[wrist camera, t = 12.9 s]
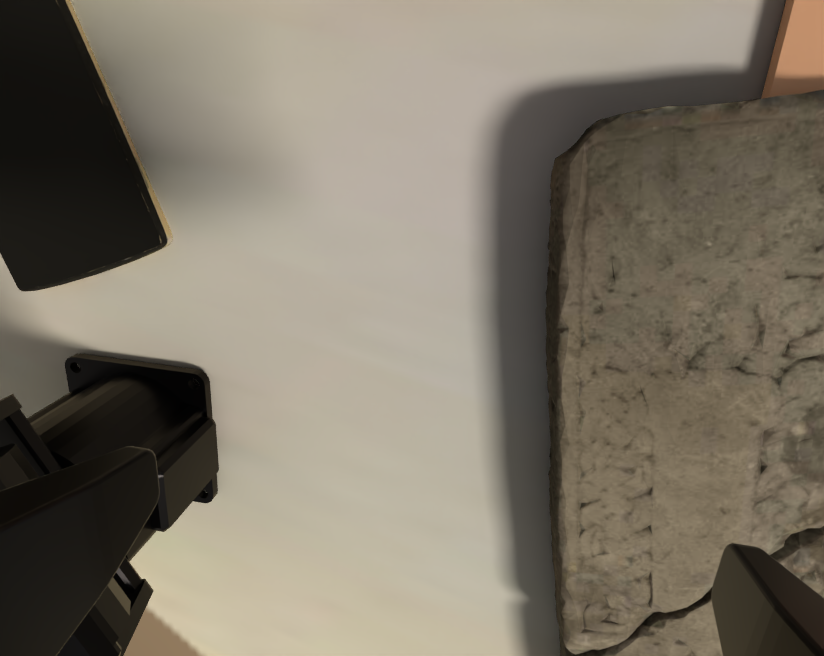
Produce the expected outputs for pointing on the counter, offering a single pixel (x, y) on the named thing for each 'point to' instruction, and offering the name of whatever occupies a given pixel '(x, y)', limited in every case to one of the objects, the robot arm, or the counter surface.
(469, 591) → the counter surface
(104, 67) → the counter surface
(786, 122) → the stone slab
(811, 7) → the tile
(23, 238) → the smartphone
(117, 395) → the robot arm
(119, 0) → the counter surface
